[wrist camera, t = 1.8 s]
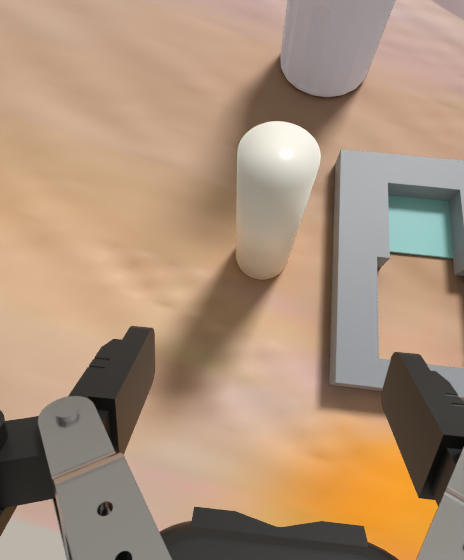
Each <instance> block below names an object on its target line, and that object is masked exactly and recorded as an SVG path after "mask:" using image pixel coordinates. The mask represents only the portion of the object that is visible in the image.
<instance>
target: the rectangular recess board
mask: <svg viewBox="0 0 464 560" xmlns="http://www.w3.org/2000/svg"><path fill="white" fill-rule="evenodd" d="M390 252H392V253H401V254H411V255H421V256H430V257H440V258H450V259H453V268H454V275H455V276H464V161H460V160H449V159H439V158H428V157H417V156H406V155H396V154H385V153H374V152H363V151H353V150H342V149H341V151H340V153H339V156H338V158H337V161H336V163H335V193H334V228H333V263H332V298H331V333H330V368H329V385H333V386H341V387H350V388H358V389H366V390H375V391H382V389H383V385H384V381H385V378H386V374H387V371H388V367H389V364H390V360H386V359H379V349H378V284H377V267H380V268H381V267H382V266H383V265H384V264H385V263H386V262H387V261H388V259H389V258H390ZM427 366H428V367H429V369H430V371H436V372H438V373H439V374H440V375H441V376H443V377H444V378H445V379H446V380H448V381H449V382H450V383H451V385H452V386H453V388H454V389H455V391H456V392H457V394H458V397H460V398H461V400H462V401H464V369H463V368H455V367H446V366H437V365H429V364H427Z"/></svg>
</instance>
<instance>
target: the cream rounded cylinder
mask: <svg viewBox="0 0 464 560" xmlns="http://www.w3.org/2000/svg"><path fill="white" fill-rule="evenodd" d="M320 160H321V153H320V149H319V146H318V144H317V142H316V140H315V139H314V137H313V136H312V135H311V134H310V133H309V132H307V131H306V130H305V129H303V128H302V127H300V126H298V125H295V124H292V123H288V122H282V121H273V122H266V123H263V124H260V125H257V126H255V127H254V128H252V129H251V130H249V131H248V132H247V133H246V134H245V135H244V136H243V138H242V139H241V141H240V143H239V146H238V150H237V202H236V261H237V264H238V266H239V268H240V269H241V270H242V271H243V272H244V273H245V274H246V275H248V276H249V277H252V278H254V279H259V280H265V279H270V278H273V277H275V276H277V275H278V274H280V273H281V272H282V271H283V269H284V268H285V266H286V264H287V261H288V258H289V255H290V252H291V249H292V246H293V243H294V240H295V237H296V234H297V231H298V228H299V225H300V222H301V219H302V216H303V213H304V210H305V207H306V204H307V201H308V198H309V195H310V192H311V189H312V186H313V183H314V180H315V177H316V174H317V171H318V168H319V165H320Z"/></svg>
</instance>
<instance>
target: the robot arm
mask: <svg viewBox="0 0 464 560" xmlns="http://www.w3.org/2000/svg"><path fill="white" fill-rule="evenodd" d="M154 373H155V334H154V329H153V328H148V327H137V326H131V327H130V328H129V329H128V331H127V333H126V334H125V336H124V338H123V339H122V340H119V339H113V340H111V341H110V342H108V343H107V344H105V345H104V346H102V347H101V349H100V350H99V352H98V353H97V355H96V356H95V359H93V360H92V362H91V363H90V365H89V368H87V369H86V371H85V372H84V374H83V375H82V377H81V378H80V380H79V381H78V383H77V384H76V386H75V387H74V388H73V390H72V391H71V393H70V394H69V396H68V397H64V398H61V399H58V400H56V401H54V402H52V403H50V404H49V405H47V406H46V407H45V408H44V409H43V410H42V412H41V413H40V415H39V416H36V417H31V418H24V419H17V420H9V421H5V419H4V415H3V413H2V411H0V536H1V534H2V532H3V530H4V529H5V527H6V525H7V523H8V521H9V520H10V518H11V516H12V514H13V512H14V511H15V509H16V507H17V505H22V504H28V503H33V502H38V501H43V500H48V499H52V500H53V504H54V508H55V513H56V517H57V521H58V525H59V529H60V533H61V538H62V541H63V546H64V550H65V554H66V558H67V560H398V559H397V558H396V557H394V556H393V555H391V554H390V553H388V552H387V551H385V550H383V549H381V548H379V547H377V546H375V545H374V544H371V543H369V542H367V538H366V534H365V530H364V526H358V525H349V524H341V523H332V522H323V521H320V522H314V523H307V524H300V525H294V526H287V527H276V526H273V525H270V524H267V523H265V522H262V521H259V520H257V519H254V518H251V517H249V516H246V515H244V514H241V513H238V512H236V511H228V510H219V509H210V508H201V507H194V511H193V517H192V521H188V522H183V523H179V524H176V525H173V526H171V527H168V528H166V529H164V530H162V531H160V532H159V530H158V528H157V526H156V524H155V522H154V520H153V517H152V515H151V513H150V511H149V509H148V507H147V505H146V502H145V500H144V498H143V496H142V494H141V492H140V489H139V487H138V485H137V483H136V481H135V479H134V476H133V474H132V472H131V470H130V468H129V466H128V463H127V461H126V459H125V457H124V452H125V450H126V447H127V445H128V442H129V440H130V437H131V435H132V433H133V430H134V428H135V425H136V423H137V420H138V418H139V415H140V413H141V410H142V408H143V405H144V403H145V400H146V398H147V395H148V393H149V390H150V388H151V386H152V383H153V379H154ZM382 406H383V410H384V412H385V415H386V417H387V420H388V422H389V425H390V427H391V430H392V432H393V435H394V437H395V440H396V442H397V445H398V447H399V450H400V452H401V455H402V457H403V460H404V462H405V465H406V467H407V470H408V472H409V475H410V477H411V480H412V482H413V485H414V487H415V490H416V492H417V495H418V497H419V498H423V499H432V500H436V502H437V505H438V509H437V511H436V513H435V516H434V518H433V520H432V523H431V525H430V528H429V530H428V532H427V535H426V537H425V539H424V542H423V544H422V547H421V549H420V551H419V554H418V556H417V558H416V560H464V403H463V401H462V400H461V398H460V397H458V394H457V392H456V391H455V389H454V388H453V386H452V385H451V383H450V382H449V381H448V380H446V379H445V378H444V377H443V376H441V375H440V374H439V373H438V372H436V371H430V369H429V367H428V366H427V364H426V363H425V361H424V360H423V358H422V357H421V355H419V354H412V353H401V352H394V353H393V355H392V357H391V360H390V364H389V367H388V371H387V374H386V378H385V381H384V385H383V389H382Z"/></svg>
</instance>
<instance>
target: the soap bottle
mask: <svg viewBox="0 0 464 560" xmlns="http://www.w3.org/2000/svg"><path fill="white" fill-rule="evenodd" d="M394 3H395V0H288V1H287V9H286V16H285V24H284V32H283V40H282V47H281V55H280V58H281V69H282V71H283V73H284V75H285V77H286V78H287V80H288V81H289V82H290V83H291V84H292V85H294V86H295V87H296V88H297V89H299V90H301V91H303V92H306V93H308V94H310V95H314V96H321V97H333V96H341V95H344V94H346V93H348V92H350V91H353V90H355V89H356V88H357V87H358V86H359V85H360V84H361V83H362V82H363V81H364V80H365V78H366V76H367V73H368V71H369V68H370V65H371V63H372V60H373V58H374V55H375V52H376V50H377V47H378V45H379V42H380V39H381V37H382V34H383V32H384V29H385V26H386V24H387V21H388V18H389V16H390V13H391V11H392V8H393V5H394Z"/></svg>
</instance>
